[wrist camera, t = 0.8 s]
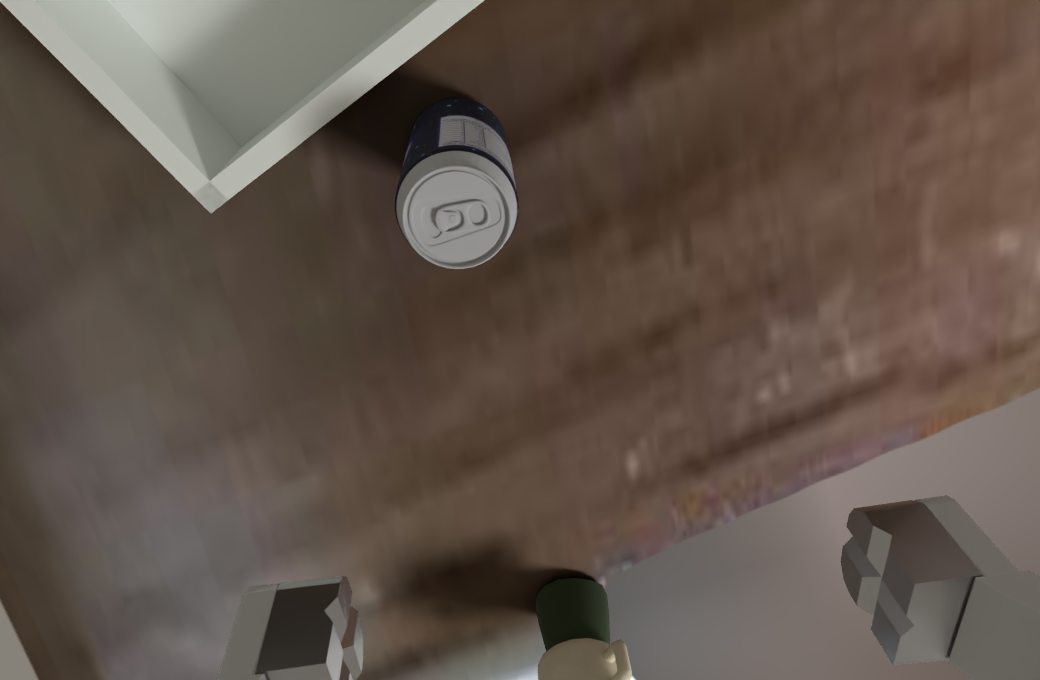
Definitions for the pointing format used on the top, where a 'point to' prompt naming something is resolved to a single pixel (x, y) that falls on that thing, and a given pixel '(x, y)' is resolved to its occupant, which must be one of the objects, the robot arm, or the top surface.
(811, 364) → the top surface
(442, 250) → the beverage can
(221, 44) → the crate
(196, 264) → the top surface
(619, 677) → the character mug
